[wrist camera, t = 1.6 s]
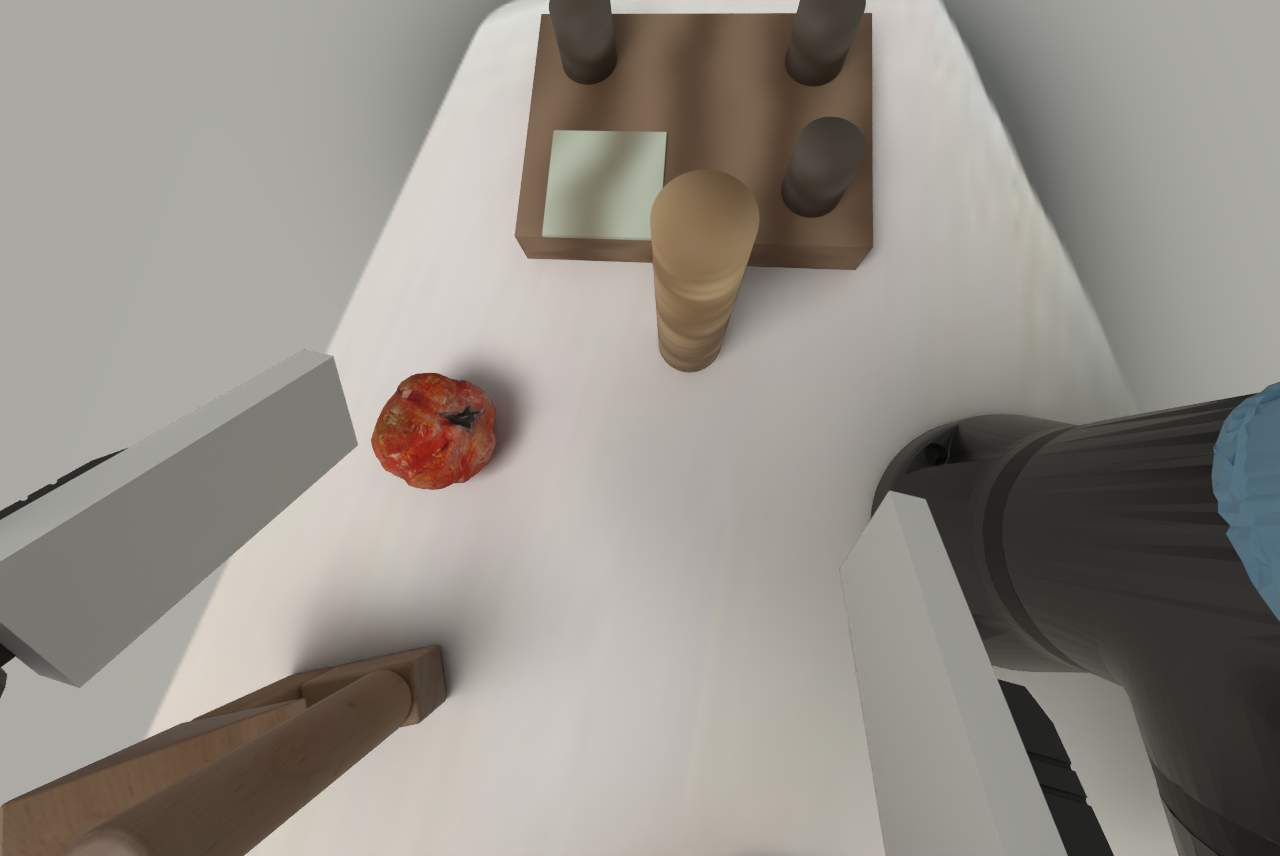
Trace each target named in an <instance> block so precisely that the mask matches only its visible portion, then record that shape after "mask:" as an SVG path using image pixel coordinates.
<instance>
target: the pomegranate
mask: <svg viewBox="0 0 1280 856" xmlns="http://www.w3.org/2000/svg"><path fill="white" fill-rule="evenodd" d="M495 415H496V412H495V408H494V406H493V403H492V401H491V399H490V398H489V397H488V396H487V395H486V393H485V392H484V391H482V390H481V389H480V388H478V387H477V386H474V385H473V384H471V383H469V382H467V381H463V380H461V381H458V380H454V379H450V378H447V377H445V376H443V375H440V374H437V373H423V374H415V375H412V376H410V377H409V378H407V379H406V380H404V381H403V382H401V383H400V385H399V386H398V388H397V391H396V392H395V394H394V395H393V396H392V397H391V398H390V399H389V401H388V402H387V403H386V405H385V406H384V408H383V410H382V412H381V414H380V416H379V418H378V421H377V423H376V426H375V429H374V432H373V436H372V439H371V443H372V447H373V450H374V452H375V455H376V457H377V458H378V460H379V461H380V463H381V465H382V466H383V468H384V469H385V470H386V471H388V472H391V473H392V474H393V475H395V476H397V477H400V478H402V479H404V480H405V481H406V482H407V484H408V485H409V486H412V487H415V488H421V489H431V490H433V489H442V488H445V487H447V486H449V485H451V484H453V483H463V482H466V481H468V480H469V479H470V478H471V477H473V476H474V475H476V474H477V473H478V472H479V471H480V470H481V469H482V468H483V467H484V466H485V465H486V464H487V462H488V461H489V459H490V458H491V456H492V455H493V451H494V448H495V446H496V437H495V433H494V430H493V426H494V420H495Z"/></svg>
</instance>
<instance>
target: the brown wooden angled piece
mask: <svg viewBox="0 0 1280 856" xmlns="http://www.w3.org/2000/svg"><path fill="white" fill-rule="evenodd" d="M445 700H446V690H445V682H444V674H443V667H442V659H441V652H440V647H439V646H435V645H434V646H429V647H425V648H420V649H415V650H410V651H406V652H401V653H396V654H391V655H387V656H382V657H377V658H372V659H368V660H363V661H358V662H353V663H349V664H344V665H339V666H337V667H335V668H333V667H329V668H324V669H320V670H315V671H310V672H305V673H301V674H296V675H291V676H288V677H286V678H284V679H281V680H279V681H277V682H275V683H273V684H270V685H268V686H266V687H264V688H261V689H259V690H257V691H255V692H253V693H250V694H248V695H246V696H244V697H241V698H239V699H237V700H235V701H233V702H230V703H228V704H226V705H224V706H221V707H219V708H217V709H215V710H213V711H210V712H208V713H206V714H204V715H201V716H199V717H197V718H195V719H193V720H192V721H190V722H186V723H181V724H179V725H177V726H174V727H172V728H170V729H168V730H166V731H163V732H161V733H159V734H157V735H154V736H152V737H150V738H148V739H146V740H143V741H141V742H139V743H137V744H134V745H132V746H130V747H128V748H125V749H123V750H121V751H119V752H117V753H114V754H112V755H110V756H108V757H106V758H103V759H101V760H99V761H97V762H94V763H92V764H90V765H88V766H85V767H83V768H81V769H79V770H77V771H75V772H72V773H70V774H68V775H66V776H63V777H61V778H59V779H56V780H54V781H52V782H50V783H48V784H45V785H43V786H41V787H39V788H36V789H34V790H32V791H30V792H27V793H25V794H23V795H21V796H19V797H17V798H14V799H12V800H10V801H8V802H6V803H5V804H3V805H2V806H1V807H0V856H244V855H245V854H246V853H248V852H249V851H250V850H251V849H253V848H254V847H255V846H256V845H257V844H259V843H260V842H261V841H262V840H263V839H265V838H266V837H267V836H268V835H270V834H271V833H272V832H273V831H274V830H276V829H277V828H278V827H279V826H280V825H282V824H283V823H284V822H285V821H287V820H288V819H289V818H290V817H291V816H293V815H294V814H295V813H296V812H297V811H299V810H300V809H301V808H302V807H304V806H305V805H306V804H307V803H308V802H310V801H311V800H312V799H313V798H314V797H316V796H317V795H318V794H319V793H321V792H322V791H323V790H324V789H325V788H327V787H328V786H329V785H330V784H331V783H333V782H334V781H335V780H336V779H338V778H339V777H340V776H341V775H342V774H344V773H345V772H346V771H347V770H348V769H350V768H351V767H352V766H353V765H355V764H356V763H357V762H358V761H359V760H361V759H362V758H363V757H364V756H365V755H367V754H368V753H369V752H370V751H372V750H373V749H374V748H375V747H376V746H378V745H379V744H380V743H381V742H382V741H384V740H385V739H386V738H387V737H389V736H390V735H391V734H392V733H393V732H395V731H396V730H397V729H398V728H399V727H404V726H409V725H414V724H418V723H420V722H421V721H422V720H424V719H425V718H426V717H427V716H428V715H429V714H430V713H432V712H433V711H434V710H435V709H436V708H437V707H439V706H440V705H441V704H442V703H443V702H444V701H445Z"/></svg>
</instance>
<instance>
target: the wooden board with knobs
mask: <svg viewBox="0 0 1280 856" xmlns="http://www.w3.org/2000/svg"><path fill="white" fill-rule="evenodd" d="M865 5H866V0H800V2H799V6H798V10H797V13H770V14H612V13H611V4H610V0H550V2H549V12H550V14H542V16H541V24H540V32H539V40H538V49H537V57H536V65H535V74H534V82H533V90H532V98H531V107H530V115H529V123H528V131H527V140H526V148H525V156H524V165H523V173H522V181H521V189H520V198H519V206H518V214H517V222H516V231H515V237H516V239H517V241H518V242H519V244H520V246H521V248H522V249H523V251H524V253H525V254H526V256H527V258H536V259H564V260H592V261H621V262H649V263H653V256H652V242H651V228H650V215H651V209H652V206H653V203H654V201H655V199H656V197H657V195H658V194H659V192H660V191H661V190H662V189H663V187H664V186H665V185H667V184H668V183H669V182H670V181H671V180H673V179H674V178H676V177H678V176H680V175H682V174H684V173H687V172H691V171H695V170H706V169H708V170H717V171H721V172H724V173H727V174H730V175H732V176H734V177H735V178H737V179H738V180H740V181H741V182H742V183H743V184H745V185H746V186H747V188H748V189H749V190H750V191H751V193H752V194H753V196H754V198H755V200H756V202H757V205H758V209H759V228H758V232H757V235H756V238H755V241H754V244H753V247H752V251H751V254H750V257H749V260H748V263H747V266H762V267H790V268H818V269H847V270H855V269H856V268H857V267H858V266H859V264H860V263H861V262H862V260H863V259H864V258H865V257H866V255H867V254H868V253H869V252H870V250H871V249H872V248H873V204H872V13H864V10H865Z"/></svg>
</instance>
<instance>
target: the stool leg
mask: <svg viewBox="0 0 1280 856" xmlns="http://www.w3.org/2000/svg"><path fill="white" fill-rule="evenodd" d="M650 228H651V242H652V256H653V270H654V284H655V298H656V312H657V326H658V340H659V349H660V353H661V355H662V357H663V358H664V360H665V361H666V362H667V363H668V364H669V365H670V366H671V367H673V368H675V369H677V370H679V371H683V372H696V371H700V370H702V369H704V368H706V367H708V366H709V365H710V364H711V363H712V362H713V361H714V360H715V359H716V357H717V355H718V353H719V350H720V347H721V344H722V341H723V338H724V335H725V332H726V328H727V325H728V322H729V319H730V316H731V313H732V310H733V307H734V304H735V300H736V297H737V294H738V291H739V288H740V285H741V282H742V279H743V275H744V272H745V269H746V266H747V263H748V260H749V257H750V254H751V251H752V247H753V244H754V241H755V238H756V235H757V232H758V228H759V209H758V205H757V202H756V200H755V198H754V196H753V194H752V193H751V191H750V190H749V189H748V188H747V186H746V185H745V184H743V183H742V182H741V181H740V180H738V179H737V178H735V177H734V176H732V175H730V174H727V173H724V172H721V171H717V170H708V169H706V170H695V171H691V172H687V173H684V174H682V175H680V176H678V177H676V178H674V179H673V180H671V181H670V182H669V183H668V184H667V185H665V186H664V187H663V189H662V190H661V191H660V192H659V194H658V195H657V197H656V199H655V201H654V203H653V206H652V209H651V215H650Z"/></svg>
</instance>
